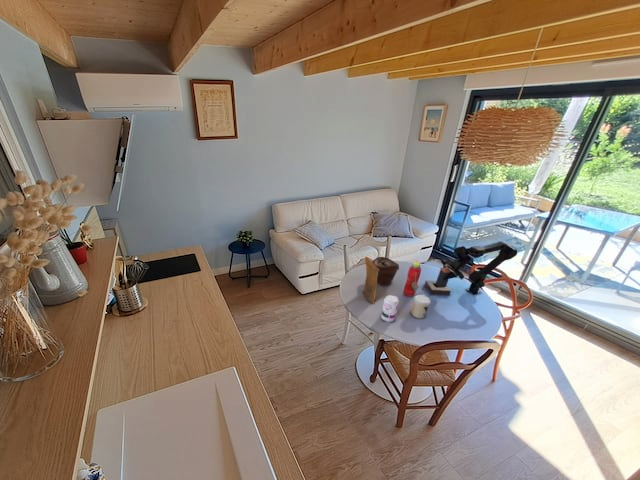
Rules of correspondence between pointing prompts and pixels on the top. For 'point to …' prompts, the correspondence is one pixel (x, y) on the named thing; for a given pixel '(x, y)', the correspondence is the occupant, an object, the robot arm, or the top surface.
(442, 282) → the pad post
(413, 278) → the water bottle
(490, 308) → the top surface
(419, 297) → the coffee cup
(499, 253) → the robot arm
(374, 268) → the pancake mix bag
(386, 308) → the supplement can
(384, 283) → the brown flower pot
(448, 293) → the base pad
